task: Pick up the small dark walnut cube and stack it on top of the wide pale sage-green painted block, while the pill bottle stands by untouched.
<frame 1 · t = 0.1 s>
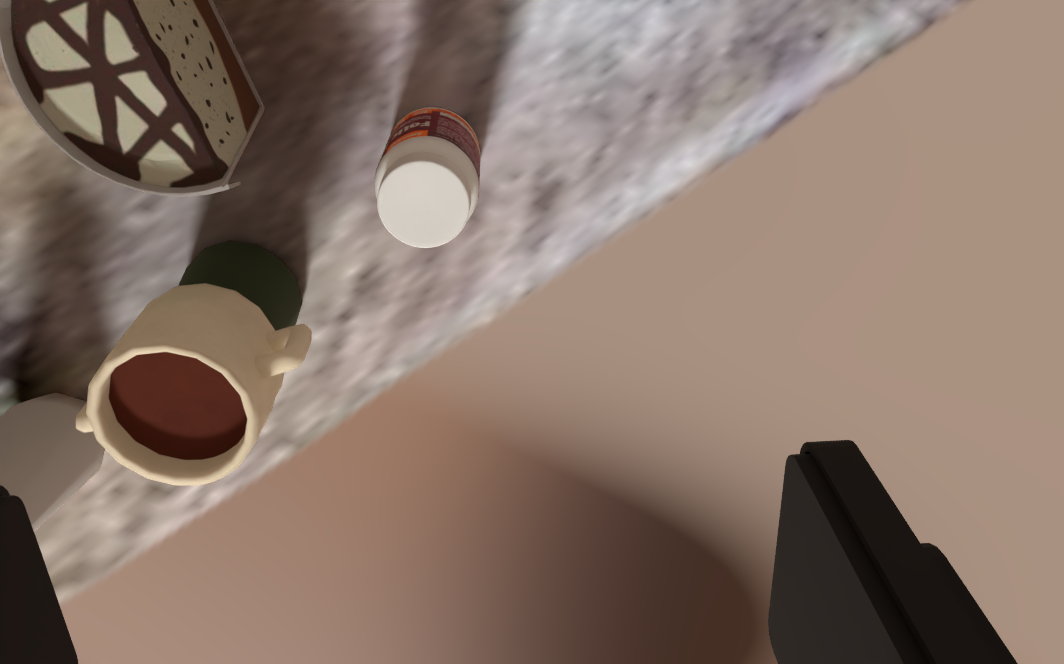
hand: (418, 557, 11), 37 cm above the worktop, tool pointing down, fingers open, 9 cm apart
food container: (163, 37, 44), on the worktop
pill bottle: (433, 151, 47), on the worktop
character mug: (246, 289, 50), on the worktop
salt shaker: (68, 421, 53), on the worktop
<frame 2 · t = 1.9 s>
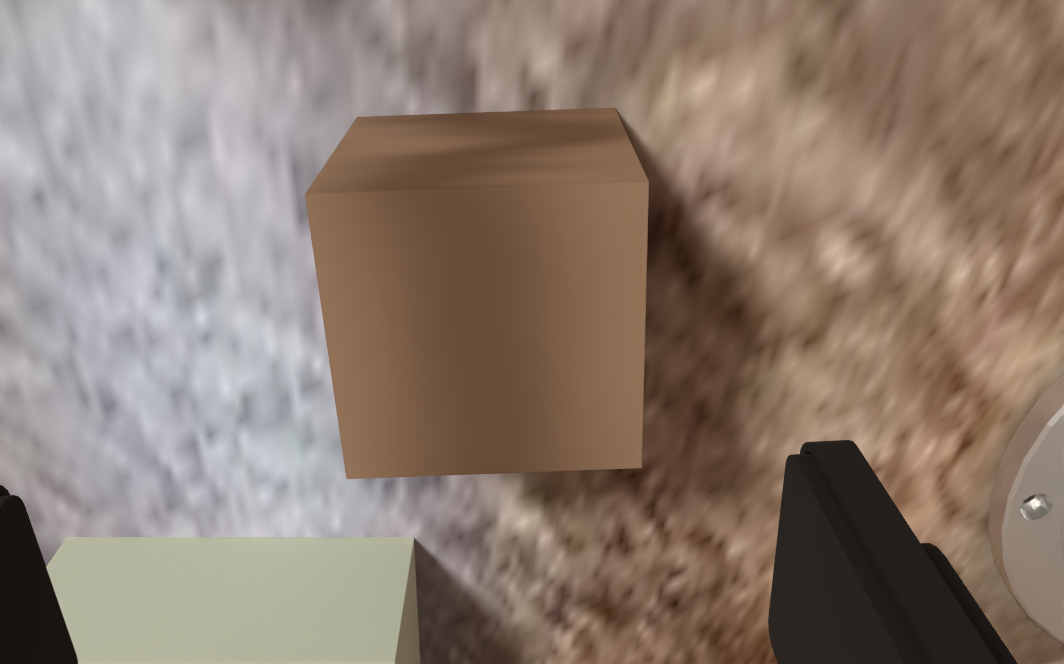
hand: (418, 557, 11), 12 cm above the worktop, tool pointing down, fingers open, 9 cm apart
sage block: (263, 658, 29), on the worktop
walnut block: (492, 233, 23), on the worktop
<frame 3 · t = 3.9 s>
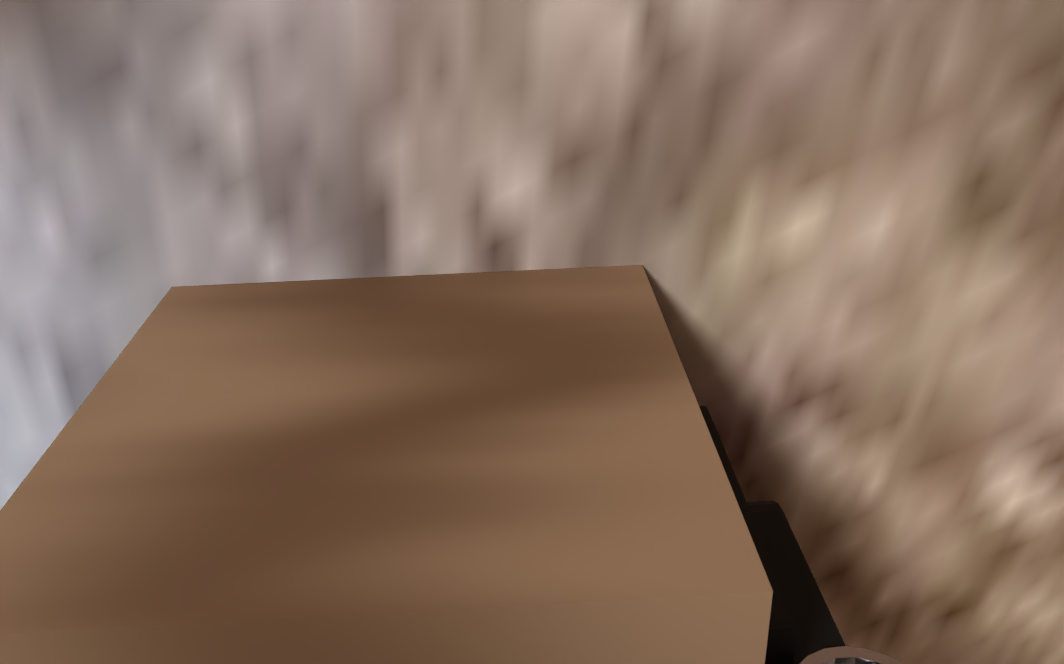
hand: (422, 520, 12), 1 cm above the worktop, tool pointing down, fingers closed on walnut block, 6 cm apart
walnut block: (428, 469, 13), on the worktop, touching gripper
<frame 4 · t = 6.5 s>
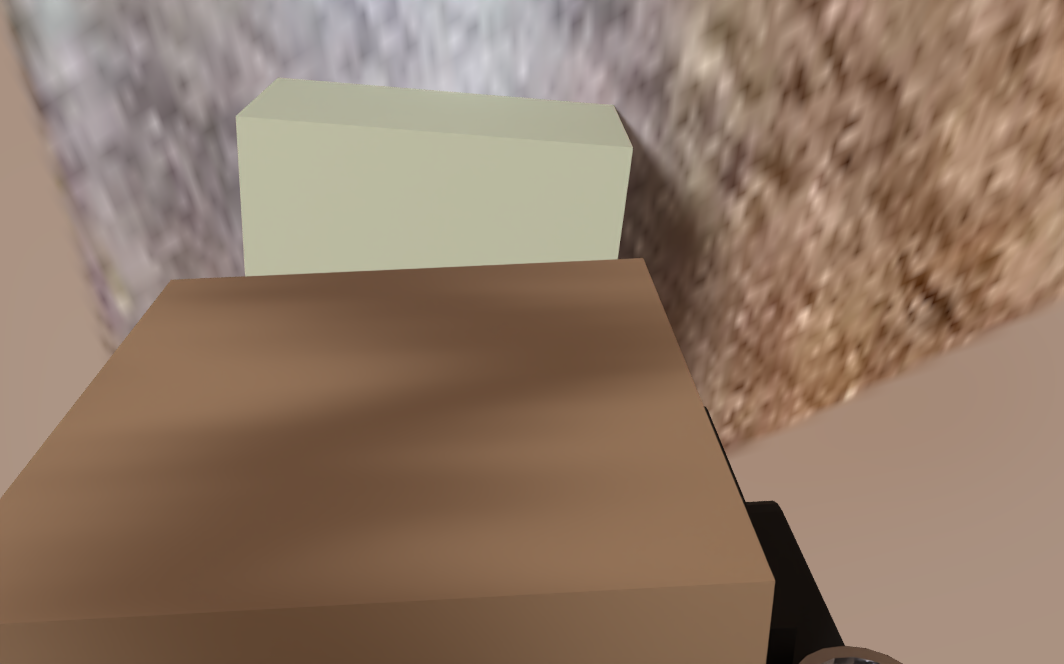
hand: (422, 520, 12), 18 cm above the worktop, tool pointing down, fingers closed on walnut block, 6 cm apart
sage block: (441, 244, 30), on the worktop
walnut block: (428, 464, 13), point 17 cm above the worktop, touching gripper
when the fingers open (7 cm above the worktop, at t = 9.5 s): walnut block drops 1 cm, resting on sage block.
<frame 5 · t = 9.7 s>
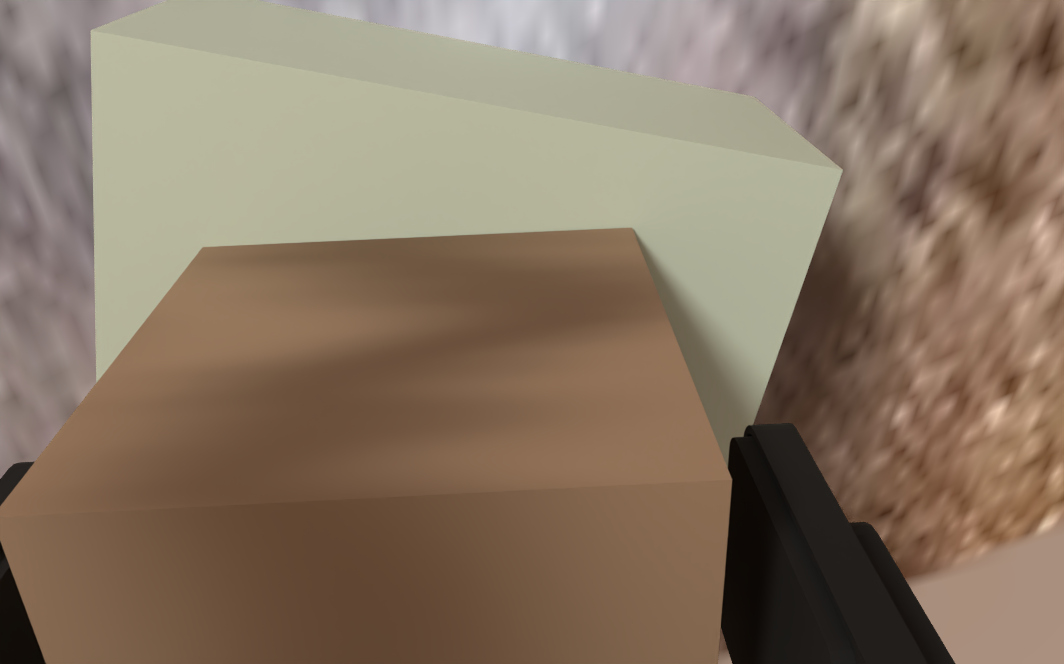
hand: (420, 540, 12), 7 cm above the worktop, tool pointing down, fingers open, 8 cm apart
sage block: (444, 291, 19), on the worktop, touching walnut block
walnut block: (435, 419, 14), point 5 cm above the worktop, touching sage block
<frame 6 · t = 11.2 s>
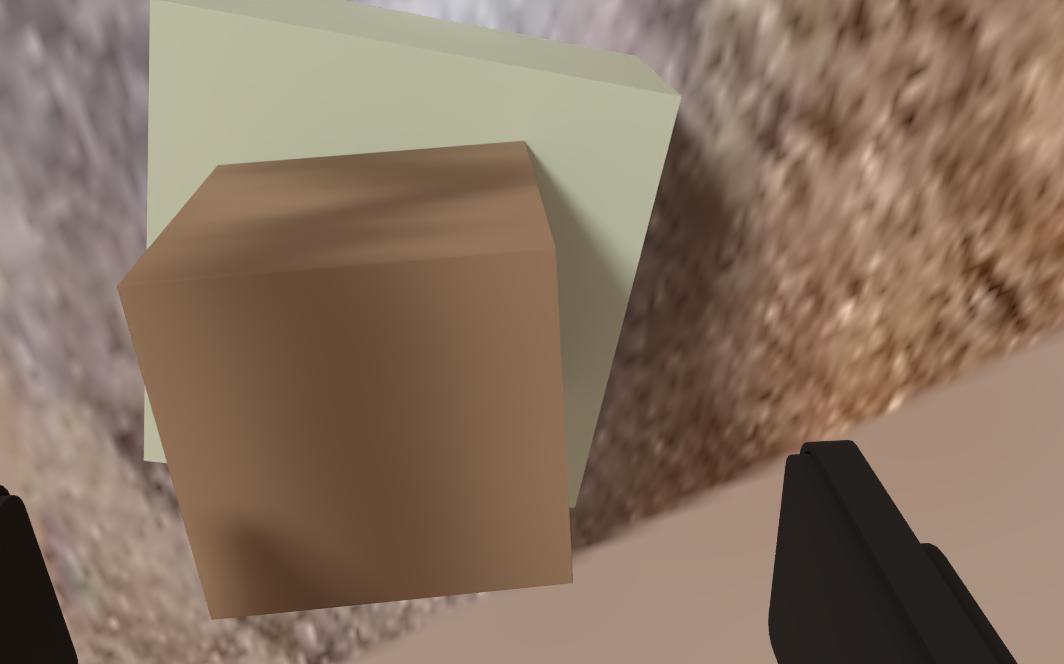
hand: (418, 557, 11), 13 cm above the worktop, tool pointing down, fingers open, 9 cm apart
sage block: (404, 214, 24), on the worktop
walnut block: (391, 292, 19), point 5 cm above the worktop
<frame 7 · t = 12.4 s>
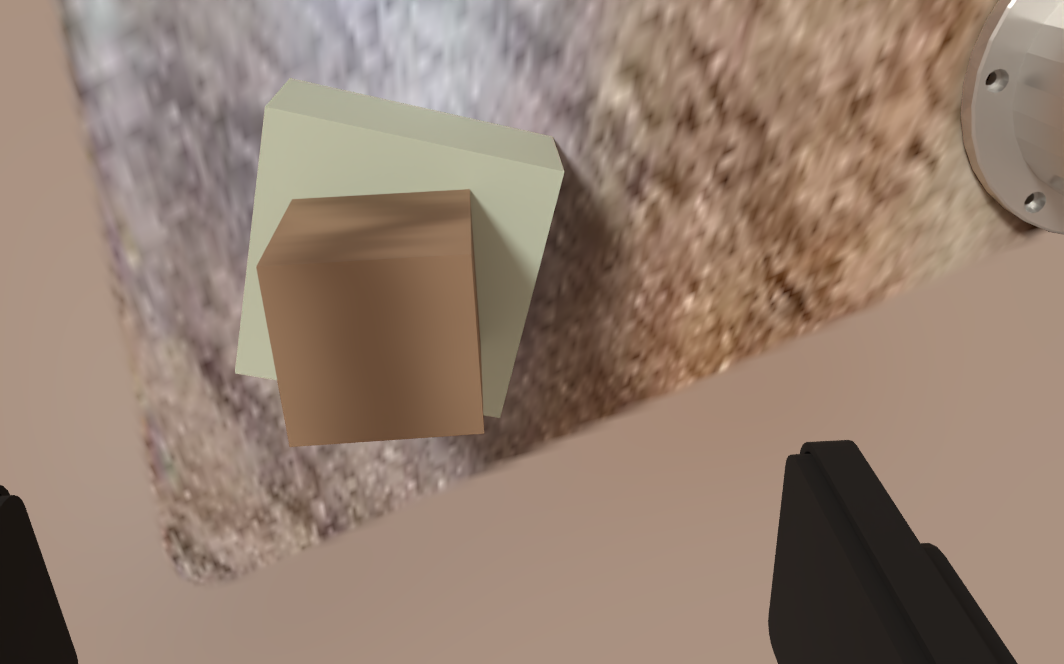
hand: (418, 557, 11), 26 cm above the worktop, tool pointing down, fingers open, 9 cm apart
sage block: (401, 227, 37), on the worktop, touching walnut block
walnut block: (390, 275, 32), point 5 cm above the worktop, touching sage block
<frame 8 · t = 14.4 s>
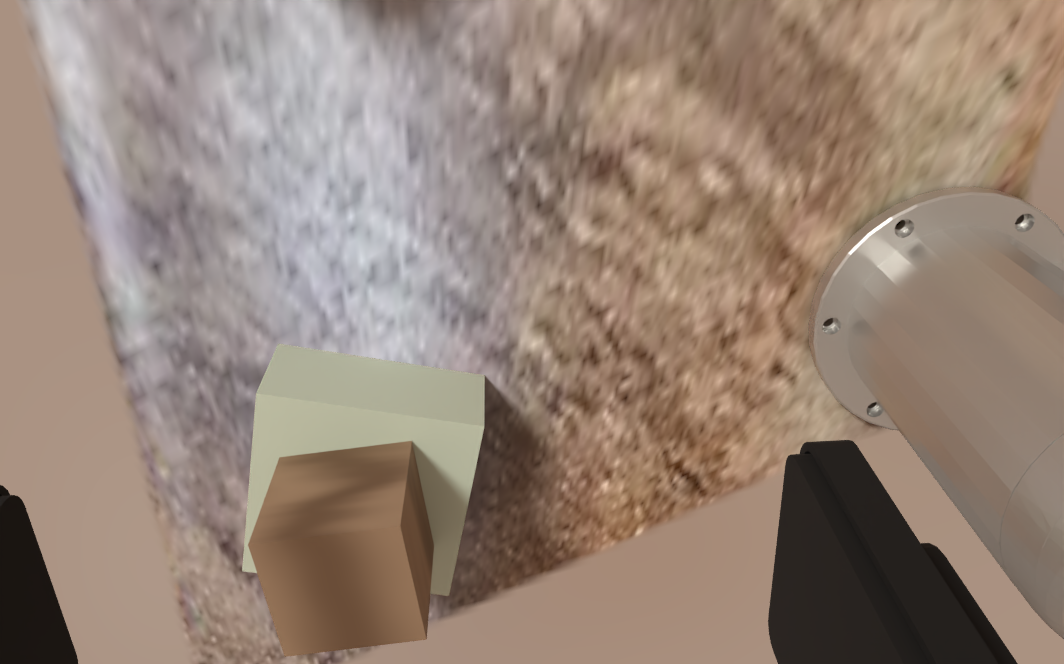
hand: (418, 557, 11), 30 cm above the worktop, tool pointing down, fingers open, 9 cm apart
sage block: (371, 441, 47), on the worktop, touching walnut block
walnut block: (359, 502, 42), point 5 cm above the worktop, touching sage block
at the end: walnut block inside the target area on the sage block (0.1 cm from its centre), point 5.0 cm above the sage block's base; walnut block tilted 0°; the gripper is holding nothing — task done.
